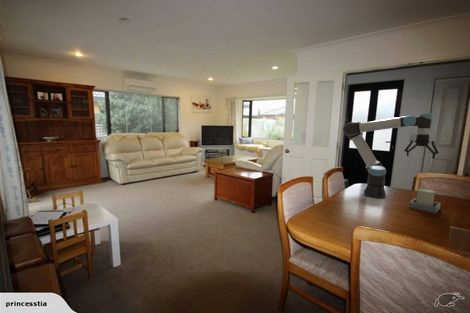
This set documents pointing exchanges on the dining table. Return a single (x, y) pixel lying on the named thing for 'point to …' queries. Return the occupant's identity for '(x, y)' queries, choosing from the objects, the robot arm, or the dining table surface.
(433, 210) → the tray
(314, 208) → the dining table surface
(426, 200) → the can
